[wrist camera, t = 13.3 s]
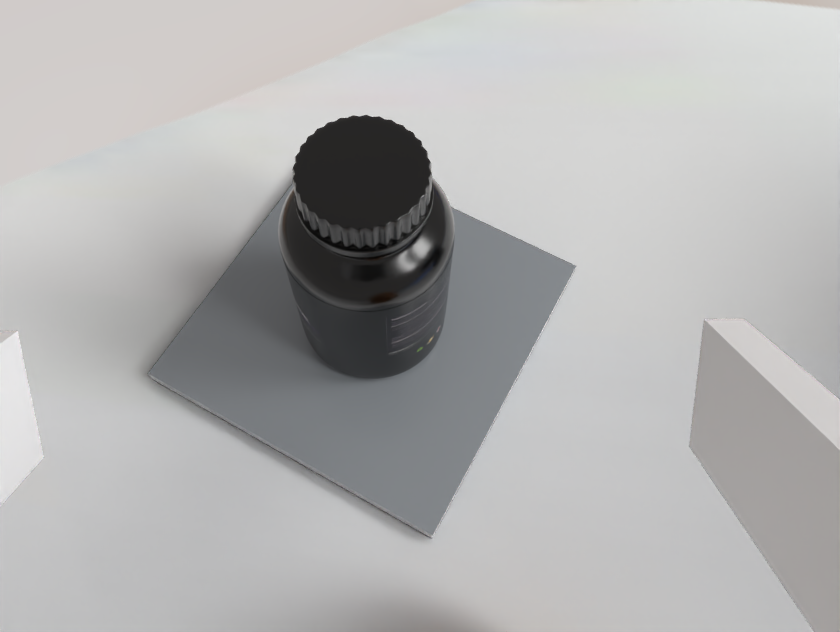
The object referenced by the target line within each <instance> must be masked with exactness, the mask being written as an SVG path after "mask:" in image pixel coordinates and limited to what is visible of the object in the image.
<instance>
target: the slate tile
mask: <svg viewBox="0 0 840 632" xmlns="http://www.w3.org/2000/svg"><path fill="white" fill-rule="evenodd" d="M292 189H293V184H292V185H291V186H290V188H289V189H288V190H287V191H286V193H285V194H284V195H283V197H282V198H281V199H280V201H279V202H278V203H277V205H276V206H275V207H274V209H273V210H272V211H271V212H270V214H269V215H268V216H267V218H266V219H265V220H264V222H263V223H262V224H261V226H260V227H259V228H258V230H257V231H256V232H255V233H254V235H253V236H252V237H251V239H250V240H249V241H248V243H247V244H246V245H245V247H244V248H243V249H242V251H241V252H240V253H239V254H238V256H237V257H236V258H235V260H234V261H233V262H232V264H231V265H230V266H229V268H228V269H227V270H226V272H225V273H224V274H223V275H222V277H221V278H220V279H219V281H218V282H217V283H216V285H215V286H214V287H213V289H212V290H211V291H210V293H209V294H208V295H207V296H206V298H205V299H204V300H203V302H202V303H201V304H200V306H199V307H198V308H197V310H196V311H195V312H194V314H193V315H192V316H191V317H190V319H189V320H188V321H187V323H186V324H185V325H184V327H183V328H182V329H181V331H180V332H179V333H178V335H177V336H176V337H175V338H174V340H173V341H172V342H171V344H170V345H169V346H168V348H167V349H166V350H165V352H164V353H163V354H162V356H161V357H160V358H159V359H158V361H157V362H156V363H155V365H154V366H153V367H152V369H151V370H150V371H149V373H148V374H149V375H150V377H151V378H152V379H153V380H155V381H156V382H158V383H160V384H162V385H163V386H165V387H167V388H169V389H170V390H172V391H174V392H176V393H177V394H179V395H181V396H183V397H184V398H186V399H188V400H190V401H191V402H193V403H195V404H197V405H199V406H200V407H202V408H204V409H206V410H207V411H209V412H211V413H213V414H214V415H216V416H218V417H220V418H221V419H223V420H225V421H227V422H228V423H230V424H232V425H234V426H235V427H237V428H239V429H241V430H242V431H244V432H246V433H248V434H249V435H251V436H253V437H255V438H256V439H258V440H260V441H262V442H263V443H265V444H267V445H269V446H270V447H272V448H274V449H276V450H277V451H279V452H281V453H283V454H285V455H286V456H288V457H290V458H292V459H293V460H295V461H297V462H299V463H300V464H302V465H304V466H306V467H307V468H309V469H311V470H313V471H314V472H316V473H318V474H320V475H321V476H323V477H325V478H327V479H328V480H330V481H332V482H334V483H335V484H337V485H339V486H341V487H342V488H344V489H346V490H348V491H349V492H351V493H353V494H355V495H356V496H358V497H360V498H362V499H364V500H365V501H367V502H369V503H371V504H372V505H374V506H376V507H378V508H379V509H381V510H383V511H385V512H386V513H388V514H390V515H392V516H393V517H395V518H397V519H399V520H400V521H402V522H404V523H406V524H407V525H409V526H411V527H413V528H414V529H416V530H418V531H420V532H421V533H423V534H425V535H427V536H428V537H430V538H433V536H434V534H435V532H436V530H437V528H438V527H439V525H440V523H441V521H442V519H443V517H444V515H445V513H446V512H447V510H448V508H449V506H450V504H451V502H452V500H453V498H454V497H455V495H456V493H457V491H458V489H459V487H460V485H461V483H462V481H463V480H464V478H465V476H466V474H467V472H468V470H469V468H470V466H471V465H472V463H473V461H474V459H475V457H476V455H477V453H478V451H479V450H480V448H481V446H482V444H483V442H484V440H485V438H486V436H487V435H488V433H489V431H490V429H491V427H492V425H493V423H494V421H495V419H496V418H497V416H498V414H499V412H500V410H501V408H502V406H503V404H504V403H505V401H506V399H507V397H508V395H509V393H510V391H511V389H512V388H513V386H514V384H515V382H516V380H517V378H518V376H519V374H520V373H521V371H522V369H523V367H524V365H525V363H526V361H527V359H528V357H529V356H530V354H531V352H532V350H533V348H534V346H535V344H536V342H537V341H538V339H539V337H540V335H541V333H542V331H543V329H544V327H545V326H546V324H547V322H548V320H549V318H550V316H551V314H552V312H553V311H554V309H555V307H556V305H557V303H558V301H559V299H560V297H561V295H562V294H563V292H564V290H565V288H566V286H567V284H568V282H569V280H570V279H571V277H572V275H573V273H574V270H575V268H576V266H575V265H573V264H571V263H569V262H567V261H565V260H562V259H560V258H558V257H556V256H554V255H552V254H550V253H547V252H545V251H543V250H541V249H539V248H537V247H535V246H533V245H530V244H528V243H526V242H524V241H522V240H520V239H518V238H516V237H513V236H511V235H509V234H507V233H505V232H503V231H501V230H499V229H496V228H494V227H492V226H490V225H488V224H486V223H484V222H481V221H479V220H477V219H475V218H473V217H471V216H469V215H467V214H464V213H462V212H460V211H458V210H456V209H454V208H452V207H451V209H452V213H453V217H454V227H455V237H454V249H453V257H452V265H451V273H450V282H449V290H448V298H447V306H446V314H445V319H444V325H443V328H442V332H441V334H440V337H439V339H438V341H437V343H436V345H435V346H434V348H433V349H432V351H431V352H430V353H429V354H428V355H427V356H426V357H425V358H424V359H423V360H422V361H421V362H420V363H418V364H417V365H416V366H414V367H413V368H411V369H409V370H407V371H405V372H403V373H401V374H398V375H395V376H392V377H387V378H380V379H365V378H358V377H354V376H350V375H347V374H345V373H342V372H340V371H338V370H336V369H334V368H333V367H331V366H330V365H328V364H327V363H326V362H324V361H323V360H322V359H321V358H320V357H319V356H318V354H317V353H316V352H315V351H314V349H313V348H312V346H311V345H310V343H309V341H308V339H307V337H306V334H305V331H304V328H303V326H302V322H301V319H300V316H299V312H298V309H297V305H296V302H295V299H294V295H293V292H292V288H291V285H290V282H289V278H288V275H287V271H286V268H285V265H284V261H283V258H282V254H281V250H280V244H279V236H278V227H279V219H280V214H281V211H282V207H283V205H284V203H285V200H286V198H287V197H288V195H289V193H290V191H291V190H292Z"/></svg>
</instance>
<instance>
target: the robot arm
mask: <svg viewBox="0 0 840 632" xmlns="http://www.w3.org/2000/svg"><path fill="white" fill-rule="evenodd" d="M689 447H690V448H691V450H692V451H693V453H694V454H695V456H696V457H697V459H698V460H699V462H700V463H701V465H702V466H703V468H704V469H705V471H706V472H707V474H708V475H709V477H710V478H711V480H712V481H713V483H714V484H715V486H716V487H717V488H718V490H719V491H720V493H721V494H722V496H723V497H724V499H725V500H726V502H727V503H728V505H729V506H730V508H731V509H732V511H733V512H734V514H735V515H736V517H737V518H738V520H739V521H740V523H741V524H742V526H743V527H744V529H745V530H746V531H747V533H748V534H749V536H750V537H751V539H752V540H753V542H754V543H755V545H756V546H757V548H758V549H759V551H760V552H761V554H762V555H763V557H764V558H765V560H766V561H767V563H768V564H769V566H770V567H771V569H772V570H773V571H774V573H775V574H776V576H777V577H778V579H779V580H780V582H781V583H782V585H783V586H784V588H785V589H786V591H787V592H788V594H789V595H790V597H791V598H792V600H793V601H794V603H795V604H796V606H797V607H798V609H799V610H800V612H801V613H802V614H803V616H804V617H805V619H806V620H807V622H808V623H809V625H810V626H811V628H812V629H813V631H814V632H840V399H839V398H838V397H836V396H835V395H834V394H833V393H832V392H830V391H829V390H828V389H827V388H826V387H825V386H823V385H822V384H821V383H820V382H819V381H817V380H816V379H815V378H814V377H813V376H812V375H810V374H809V373H808V372H807V371H806V370H804V369H803V368H802V367H801V366H800V365H799V364H797V363H796V362H795V361H794V360H793V359H791V358H790V357H789V356H788V355H787V354H786V353H784V352H783V351H782V350H781V349H780V348H778V347H777V346H776V345H775V344H774V343H773V342H771V341H770V340H769V339H768V338H767V337H765V336H764V335H763V334H762V333H761V332H759V331H758V330H757V329H756V328H755V327H754V326H752V325H751V324H750V323H749V322H748V321H746V320H745V319H704V324H703V333H702V341H701V350H700V358H699V366H698V375H697V383H696V392H695V400H694V409H693V417H692V426H691V434H690V443H689ZM43 458H44V454H43V449H42V445H41V440H40V435H39V430H38V426H37V421H36V416H35V411H34V406H33V402H32V397H31V392H30V387H29V382H28V378H27V373H26V368H25V363H24V358H23V354H22V349H21V344H20V339H19V335H18V331H0V506H1V505H2V504H3V503H4V502H5V501H6V500H7V499H8V497H9V496H10V495H11V494H12V493H13V492H14V491H15V490H16V488H17V487H18V486H19V485H20V484H21V483H22V482H23V481H24V479H25V478H26V477H27V476H28V475H29V474H30V473H31V472H32V470H33V469H34V468H35V467H36V466H37V465H38V464H39V463H40V461H41V460H42V459H43Z"/></svg>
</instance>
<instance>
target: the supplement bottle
mask: <svg viewBox="0 0 840 632" xmlns="http://www.w3.org/2000/svg"><path fill="white" fill-rule="evenodd" d="M293 176H294V177H293V189H292V190H291V191H290V193H289V195H288V197H287V198H286V200H285V203H284V205H283V207H282V211H281V214H280V219H279V227H278V236H279V244H280V250H281V254H282V258H283V261H284V265H285V268H286V271H287V275H288V278H289V282H290V285H291V288H292V292H293V295H294V299H295V302H296V305H297V309H298V312H299V316H300V319H301V322H302V326H303V328H304V331H305V334H306V337H307V339H308V341H309V343H310V345H311V346H312V348H313V349H314V351H315V352H316V353H317V354H318V356H319V357H320V358H321V359H322V360H323V361H324V362H326V363H327V364H328V365H330V366H331V367H333V368H334V369H336V370H338V371H340V372H342V373H345V374H347V375H350V376H354V377H358V378H365V379H380V378H387V377H392V376H395V375H398V374H401V373H403V372H405V371H407V370H409V369H411V368H413V367H414V366H416V365H417V364H418V363H420V362H421V361H422V360H423V359H424V358H425V357H426V356H427V355H428V354H429V353H430V352H431V351H432V349H433V348H434V346H435V345H436V343H437V341H438V339H439V337H440V334H441V332H442V328H443V325H444V319H445V314H446V306H447V298H448V290H449V282H450V273H451V265H452V257H453V249H454V237H455V227H454V217H453V213H452V209H451V206H450V204H449V201H448V199H447V197H446V195H445V193H444V192H443V190H442V189H441V187H440V186H439V185H438V183H437V182H436V181H435V180H434V179H433V178H432V173H431V162H430V160H429V159H428V153H427V151H426V150H425V149H424V148H423V147H422V142H421V141H420V140H419V139H417V138H416V137H415V135H414V133H413V132H411V131H408V130H406V129H405V127H404V126H403V125H399V124H396V123H395V122H393V121H392V120H385V119H383V118H381V117H371V116H368V115H364V116H360V117H359V116H351V117H348V118H340V119H338V120H336V121H335V122H329V123H327V124H326V125H325V126H324V127H322V128H319V129H317V130H316V131H315V133H314V134H313V135H311V136H309V137H308V138H307V140H306V142H305V143H304V144H303V145H302V146H301V147H300V152H299V153H298V154H297V156H296V157H295V165H294V167H293Z"/></svg>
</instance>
